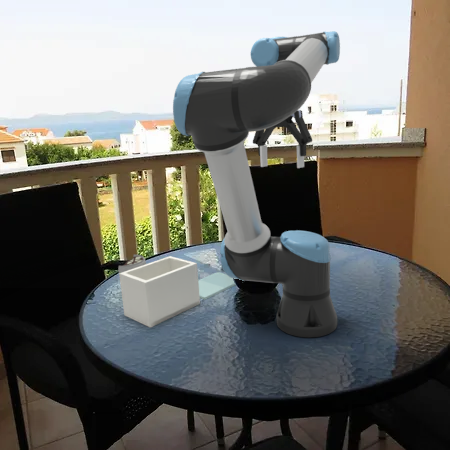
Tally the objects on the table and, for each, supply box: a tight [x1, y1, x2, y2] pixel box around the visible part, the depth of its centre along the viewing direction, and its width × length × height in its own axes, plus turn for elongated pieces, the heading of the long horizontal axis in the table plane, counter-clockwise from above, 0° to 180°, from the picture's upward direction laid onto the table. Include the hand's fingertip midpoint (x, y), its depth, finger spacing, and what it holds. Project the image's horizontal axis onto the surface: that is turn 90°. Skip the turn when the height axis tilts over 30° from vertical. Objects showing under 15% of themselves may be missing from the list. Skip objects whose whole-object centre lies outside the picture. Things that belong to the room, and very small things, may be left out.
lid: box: [198, 271, 236, 301], centre depth 134 cm, size 12×24×7 cm, turn 137°
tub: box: [118, 255, 201, 328], centre depth 116 cm, size 12×18×12 cm, turn 137°
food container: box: [117, 254, 147, 274], centre depth 133 cm, size 12×6×10 cm, turn 168°
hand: (281, 167), depth 126 cm, fingers open, 13 cm apart
